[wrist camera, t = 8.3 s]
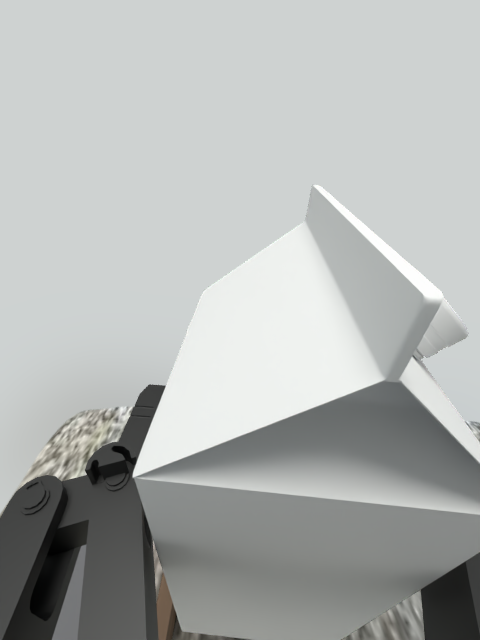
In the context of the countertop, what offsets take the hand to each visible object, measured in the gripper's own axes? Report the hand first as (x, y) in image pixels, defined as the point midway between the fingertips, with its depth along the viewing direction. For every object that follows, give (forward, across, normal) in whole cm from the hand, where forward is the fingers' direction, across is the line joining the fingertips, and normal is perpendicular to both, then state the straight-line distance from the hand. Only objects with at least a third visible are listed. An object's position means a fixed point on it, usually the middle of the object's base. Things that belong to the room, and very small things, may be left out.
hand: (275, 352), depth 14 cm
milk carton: (-5, 0, -11) cm, 12 cm away
